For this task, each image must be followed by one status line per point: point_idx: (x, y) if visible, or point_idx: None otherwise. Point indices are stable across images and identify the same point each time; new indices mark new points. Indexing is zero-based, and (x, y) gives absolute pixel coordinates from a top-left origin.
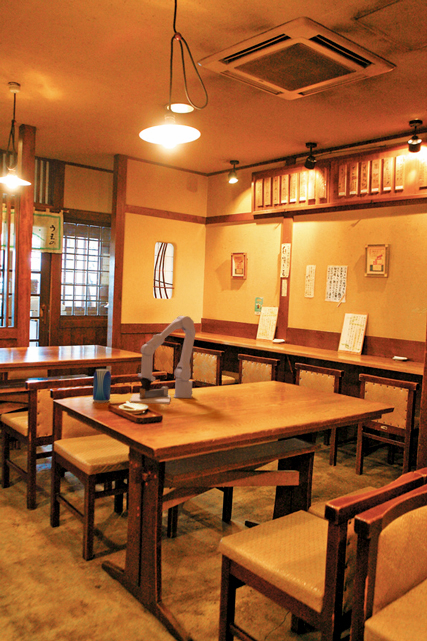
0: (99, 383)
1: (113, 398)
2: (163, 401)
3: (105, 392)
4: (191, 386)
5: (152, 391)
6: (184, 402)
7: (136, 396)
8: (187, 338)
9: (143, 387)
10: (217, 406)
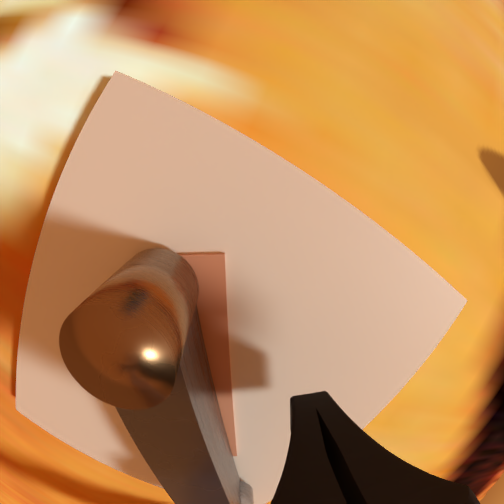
0: None
1: (413, 31)
2: (21, 389)
3: None
4: None
5: (148, 454)
6: (70, 474)
7: (340, 276)
8: None
9: (334, 441)
10: (14, 483)
